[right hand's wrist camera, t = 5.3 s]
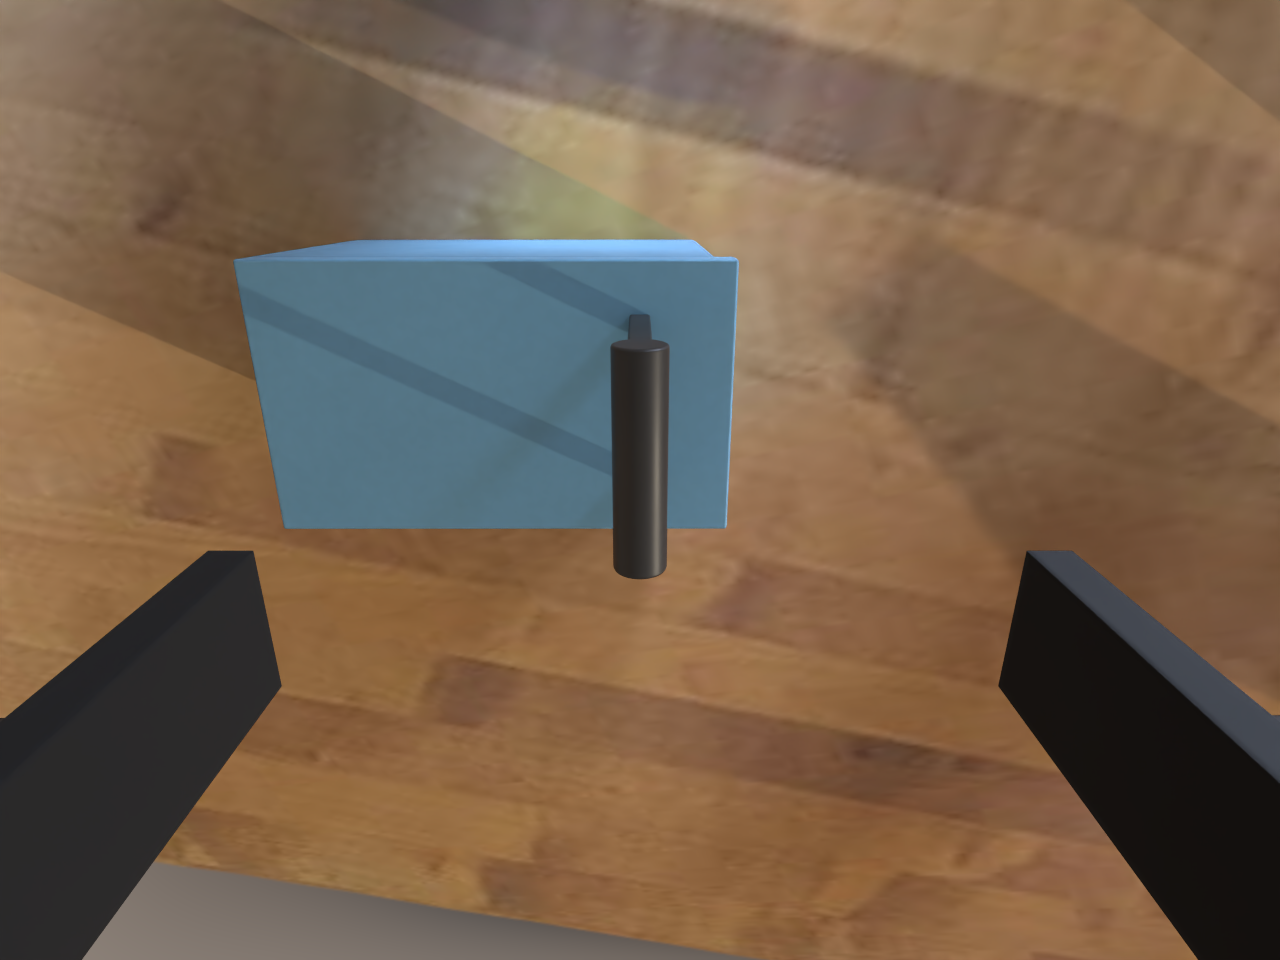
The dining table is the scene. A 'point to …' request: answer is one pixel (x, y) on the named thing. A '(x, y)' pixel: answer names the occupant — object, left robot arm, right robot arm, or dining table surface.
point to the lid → (498, 393)
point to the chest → (502, 248)
